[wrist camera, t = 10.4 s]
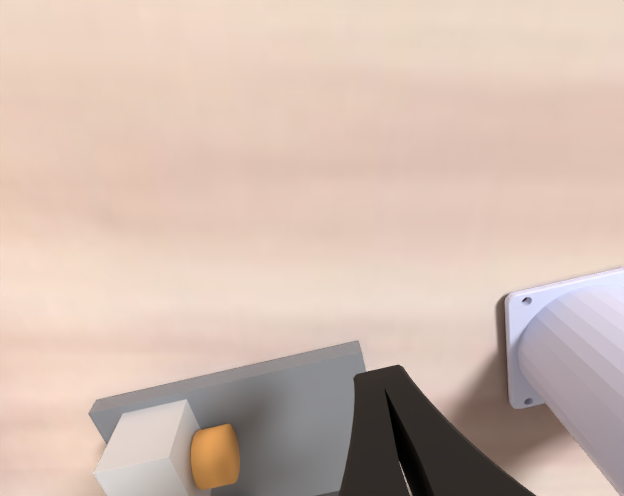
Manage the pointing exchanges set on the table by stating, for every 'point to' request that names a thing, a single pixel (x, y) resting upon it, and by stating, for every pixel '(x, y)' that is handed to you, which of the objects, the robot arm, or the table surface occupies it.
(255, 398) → the control panel
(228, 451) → the orange button
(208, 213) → the table surface
